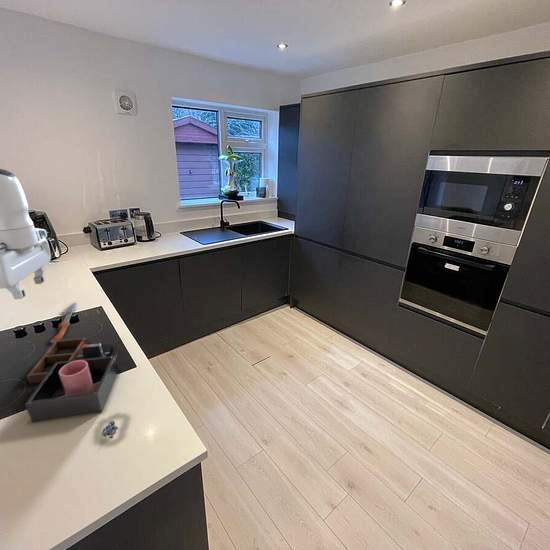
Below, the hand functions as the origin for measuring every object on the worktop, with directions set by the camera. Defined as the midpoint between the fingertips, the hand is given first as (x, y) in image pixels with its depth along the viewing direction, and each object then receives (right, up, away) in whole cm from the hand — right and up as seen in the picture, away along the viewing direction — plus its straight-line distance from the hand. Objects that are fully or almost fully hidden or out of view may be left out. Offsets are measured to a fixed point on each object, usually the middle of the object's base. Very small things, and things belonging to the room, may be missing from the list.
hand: (30, 290), depth 75 cm
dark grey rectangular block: (+6, -22, +17) cm, 28 cm away
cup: (+10, -29, +4) cm, 31 cm away
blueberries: (+25, -34, -5) cm, 43 cm away
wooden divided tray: (-4, -25, +17) cm, 30 cm away
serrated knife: (-20, -15, +39) cm, 46 cm away
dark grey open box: (+10, -30, +5) cm, 32 cm away
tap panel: (+6, -24, +18) cm, 31 cm away
